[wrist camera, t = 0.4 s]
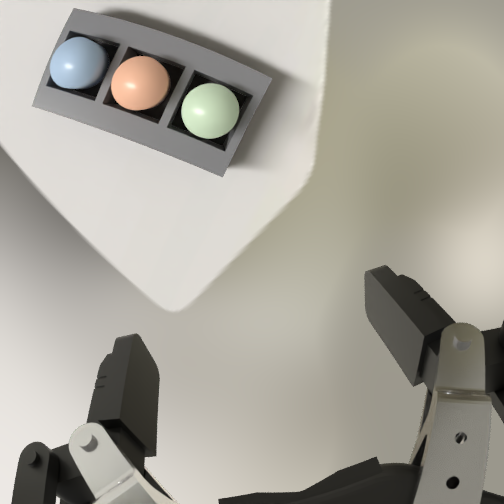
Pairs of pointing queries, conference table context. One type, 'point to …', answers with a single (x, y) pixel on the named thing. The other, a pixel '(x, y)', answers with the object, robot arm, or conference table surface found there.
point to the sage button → (210, 110)
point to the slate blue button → (79, 64)
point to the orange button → (140, 83)
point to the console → (161, 131)
